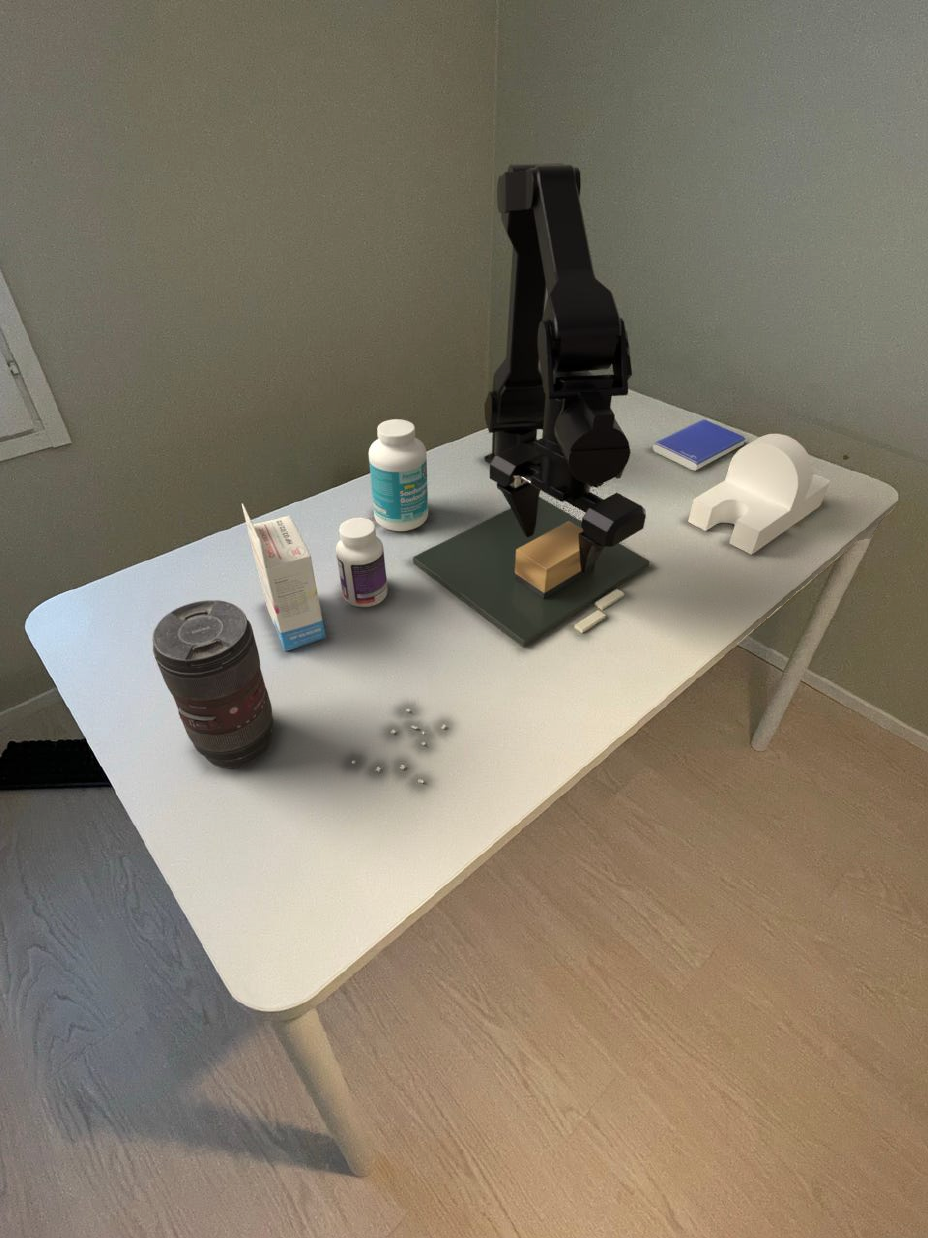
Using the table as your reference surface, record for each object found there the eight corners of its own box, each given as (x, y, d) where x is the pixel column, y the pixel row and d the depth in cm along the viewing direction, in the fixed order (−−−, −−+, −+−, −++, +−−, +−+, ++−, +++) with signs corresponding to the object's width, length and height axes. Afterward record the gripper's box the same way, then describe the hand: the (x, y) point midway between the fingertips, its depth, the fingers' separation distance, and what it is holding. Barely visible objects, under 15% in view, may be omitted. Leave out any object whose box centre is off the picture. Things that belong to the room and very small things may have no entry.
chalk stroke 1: (574, 624, 80) (574, 627, 80) (582, 630, 79) (581, 633, 80) (598, 609, 82) (597, 612, 82) (605, 614, 81) (605, 617, 82)
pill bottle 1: (396, 586, 86) (390, 520, 79) (373, 613, 82) (365, 546, 76) (357, 575, 87) (349, 509, 81) (334, 601, 84) (323, 534, 77)
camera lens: (293, 749, 68) (263, 638, 58) (210, 788, 65) (163, 677, 54) (262, 696, 73) (230, 584, 63) (184, 730, 70) (137, 618, 59)
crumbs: (390, 703, 72) (390, 702, 72) (454, 724, 70) (454, 723, 70) (351, 762, 66) (351, 762, 66) (420, 787, 64) (420, 787, 64)
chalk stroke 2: (601, 610, 83) (602, 607, 82) (594, 605, 84) (594, 602, 83) (624, 596, 85) (624, 593, 84) (616, 591, 85) (616, 588, 85)
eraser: (514, 579, 85) (516, 549, 82) (565, 549, 90) (568, 520, 87) (543, 599, 83) (546, 569, 80) (594, 568, 87) (599, 538, 84)
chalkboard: (413, 563, 89) (412, 557, 89) (536, 500, 100) (536, 494, 99) (523, 647, 78) (523, 641, 77) (648, 567, 89) (650, 561, 88)
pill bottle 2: (409, 539, 93) (403, 447, 84) (363, 523, 96) (353, 432, 86) (439, 512, 98) (436, 422, 89) (394, 497, 100) (387, 408, 91)
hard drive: (697, 462, 105) (746, 436, 110) (654, 441, 109) (702, 417, 115) (695, 471, 106) (743, 445, 112) (652, 450, 110) (700, 426, 116)
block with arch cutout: (751, 555, 91) (777, 480, 83) (687, 522, 96) (706, 449, 88) (822, 504, 99) (851, 432, 92) (760, 476, 105) (783, 406, 97)
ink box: (328, 639, 79) (308, 531, 69) (284, 653, 77) (258, 544, 67) (306, 594, 85) (285, 489, 75) (265, 607, 83) (238, 500, 73)
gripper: (691, 441, 72) (662, 562, 82) (558, 381, 82) (548, 496, 93) (620, 478, 66) (599, 603, 77) (487, 410, 77) (485, 528, 87)
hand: (556, 552), depth 84 cm, fingers open, 9 cm apart
